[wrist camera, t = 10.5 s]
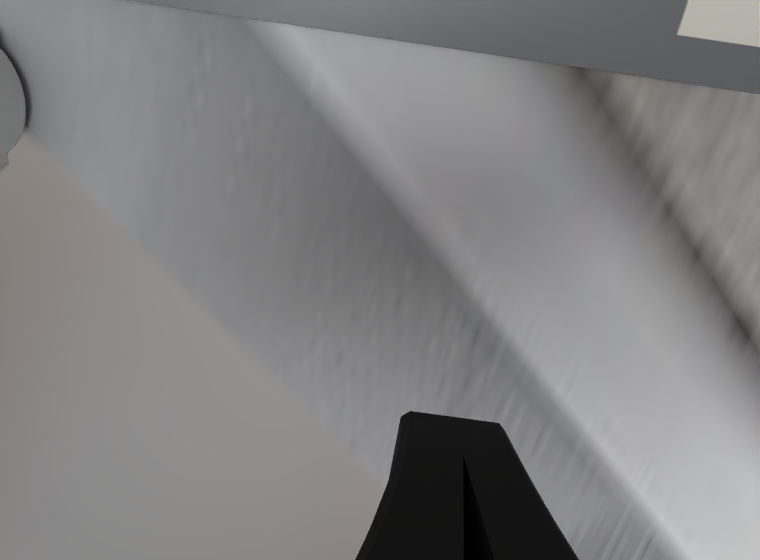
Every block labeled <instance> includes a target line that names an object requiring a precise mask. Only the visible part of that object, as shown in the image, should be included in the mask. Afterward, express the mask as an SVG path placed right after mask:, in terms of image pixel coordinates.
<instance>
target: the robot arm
mask: <svg viewBox="0 0 760 560" xmlns="http://www.w3.org/2000/svg"><path fill="white" fill-rule="evenodd" d="M355 560H579V559H578V558H577V556H576V554H575V553H574V551H573V550H572V548H571V546H570V545H569V543H568V542H567V540H566V538H565V537H564V535H563V534H562V532H561V530H560V529H559V527H558V526H557V524H556V522H555V521H554V519H553V517H552V515H551V514H550V512H549V510H548V509H547V507H546V505H545V504H544V502H543V500H542V498H541V497H540V495H539V493H538V491H537V490H536V488H535V486H534V484H533V482H532V481H531V479H530V477H529V475H528V473H527V472H526V470H525V468H524V466H523V464H522V462H521V461H520V459H519V457H518V455H517V453H516V451H515V449H514V447H513V446H512V444H511V442H510V440H509V438H508V436H507V434H506V432H505V430H504V429H503V428H502V426H501V425H500V424H499V423H494V422H487V421H479V420H472V419H465V418H457V417H450V416H442V415H435V414H428V413H420V412H413V411H410V412H408V413H407V414H405V415H403V416H401V419H400V424H399V429H398V434H397V440H396V445H395V450H394V455H393V461H392V466H391V471H390V476H389V481H388V484H387V486H386V489H385V491H384V494H383V497H382V499H381V502H380V504H379V507H378V509H377V512H376V515H375V517H374V520H373V522H372V525H371V527H370V529H369V532H368V534H367V536H366V539H365V541H364V543H363V545H362V547H361V549H360V551H359V553H358V555H357V557H356V559H355Z"/></svg>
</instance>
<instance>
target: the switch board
mask: <svg viewBox="0 0 760 560" xmlns="http://www.w3.org/2000/svg"><path fill="white" fill-rule="evenodd" d="M128 1H135V2H142V3H149V4H155V5H162V6H169V7H176V8H182V9H189V10H196V11H203V12H209V13H216V14H223V15H230V16H236V17H243V18H250V19H257V20H263V21H270V22H277V23H284V24H290V25H297V26H304V27H311V28H317V29H324V30H331V31H338V32H344V33H351V34H358V35H365V36H371V37H378V38H385V39H392V40H398V41H405V42H412V43H419V44H425V45H432V46H439V47H446V48H452V49H459V50H466V51H473V52H479V53H486V54H493V55H500V56H506V57H513V58H520V59H527V60H533V61H540V62H547V63H554V64H560V65H567V66H574V67H581V68H587V69H594V70H601V71H608V72H614V73H621V74H628V75H635V76H641V77H648V78H655V79H662V80H668V81H675V82H682V83H689V84H695V85H702V86H709V87H716V88H722V89H729V90H736V91H743V92H749V93H756V94H760V0H128Z"/></svg>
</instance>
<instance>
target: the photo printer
mask: <svg viewBox="0 0 760 560" xmlns="http://www.w3.org/2000/svg"><path fill="white" fill-rule="evenodd" d="M25 118H26V105H25V97H24V92H23V89H22V85H21V82H20V79H19V77H18V74H17V72H16V70H15V68H14V67H13V65H12V63H11V61H10V60H9V58H8V57H7V56H6V54H5V53H4V51H2V50H1V49H0V172H1V171H2V170H3V169H4V168H5V167H6V166H7V165H8V156H7V154H8V152H9V151H10V150H11V149H12V148H13V147H14V146H15V145H16V143H17V142H18V140H19V139H20V137H21V134H22V132H23V129H24V125H25Z"/></svg>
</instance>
